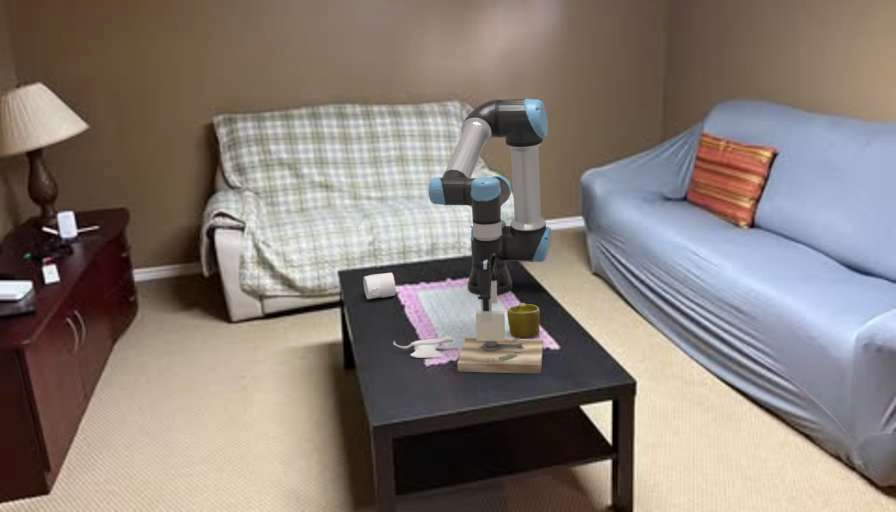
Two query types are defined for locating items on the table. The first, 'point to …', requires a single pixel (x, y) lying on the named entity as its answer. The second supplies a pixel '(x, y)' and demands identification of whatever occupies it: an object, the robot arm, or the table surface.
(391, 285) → the white cylinder
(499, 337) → the white upright block
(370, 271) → the table surface
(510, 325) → the mug
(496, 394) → the table surface
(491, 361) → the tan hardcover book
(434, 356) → the winged dragon toy
